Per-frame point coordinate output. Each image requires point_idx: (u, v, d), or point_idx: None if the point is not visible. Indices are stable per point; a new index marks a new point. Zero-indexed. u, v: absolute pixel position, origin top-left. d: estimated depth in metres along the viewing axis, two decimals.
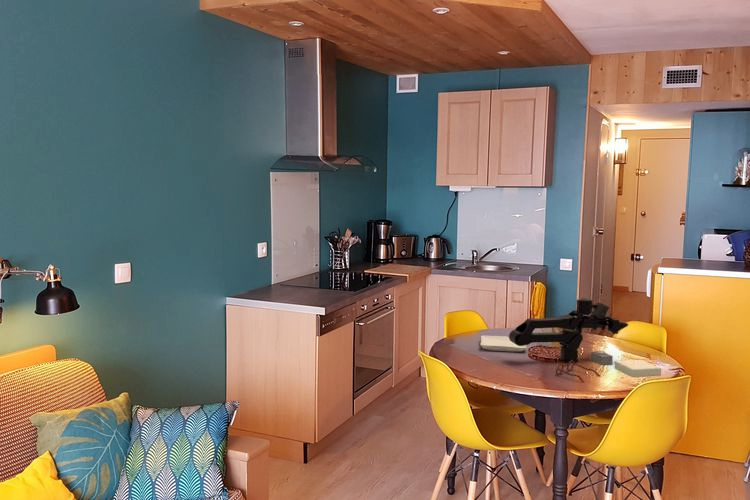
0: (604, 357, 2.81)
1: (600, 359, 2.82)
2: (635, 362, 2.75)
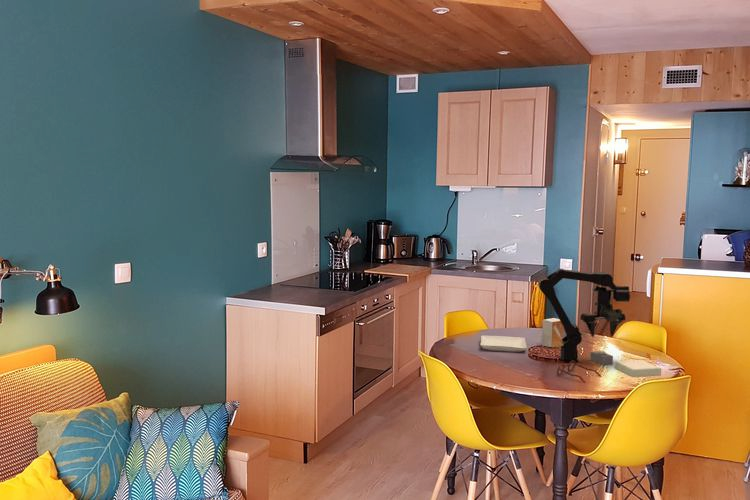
0: (605, 357, 2.81)
1: (601, 359, 2.82)
2: (635, 362, 2.75)
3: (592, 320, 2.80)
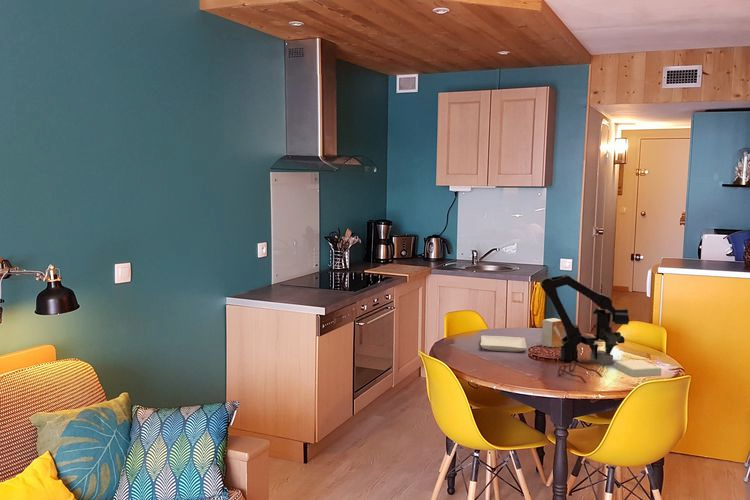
0: (605, 356, 2.81)
1: (601, 358, 2.82)
2: (635, 362, 2.75)
3: (591, 343, 2.81)
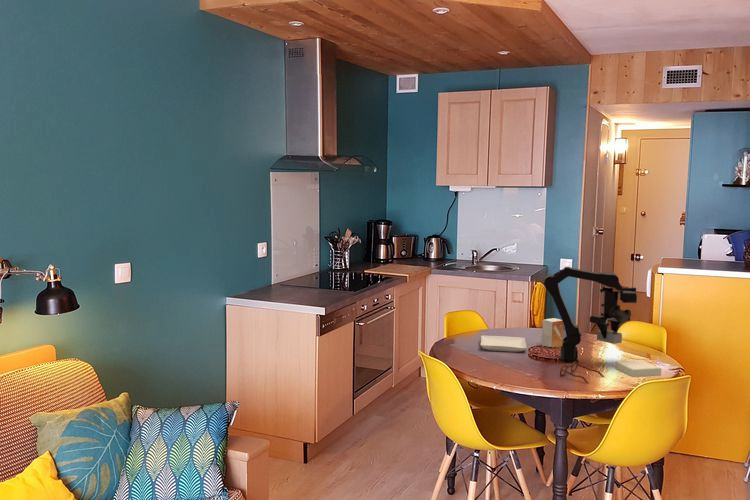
0: (616, 335, 2.78)
1: (612, 337, 2.78)
2: (635, 362, 2.75)
3: (603, 322, 2.76)
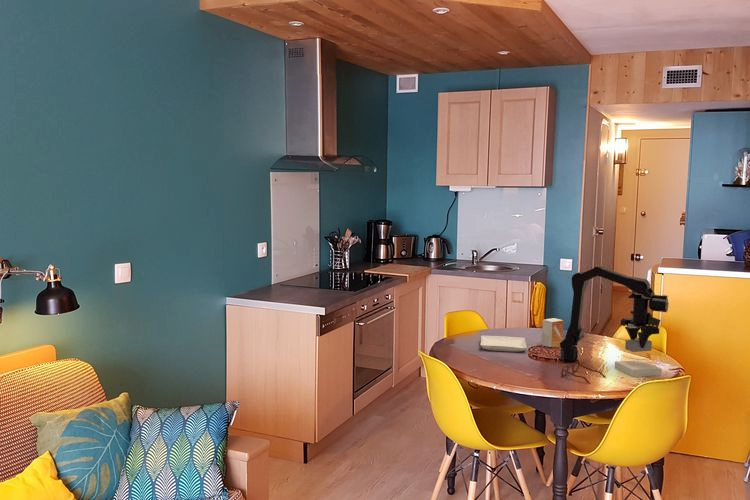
0: None
1: (649, 344, 2.70)
2: (635, 362, 2.75)
3: None
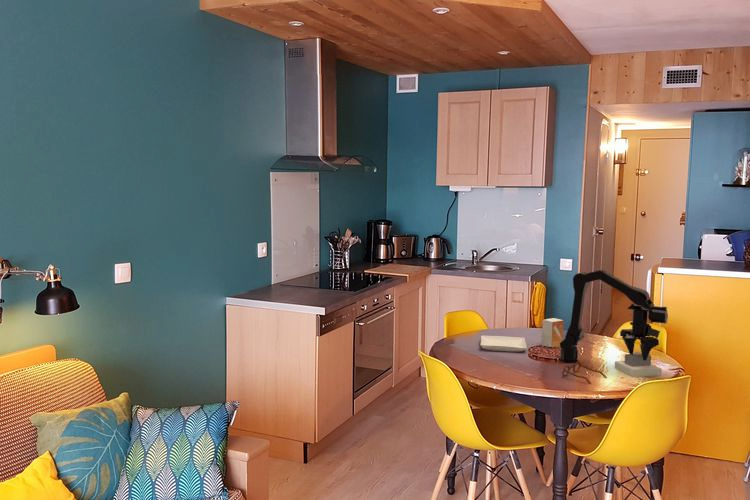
0: None
1: (649, 359, 2.70)
2: None
3: None
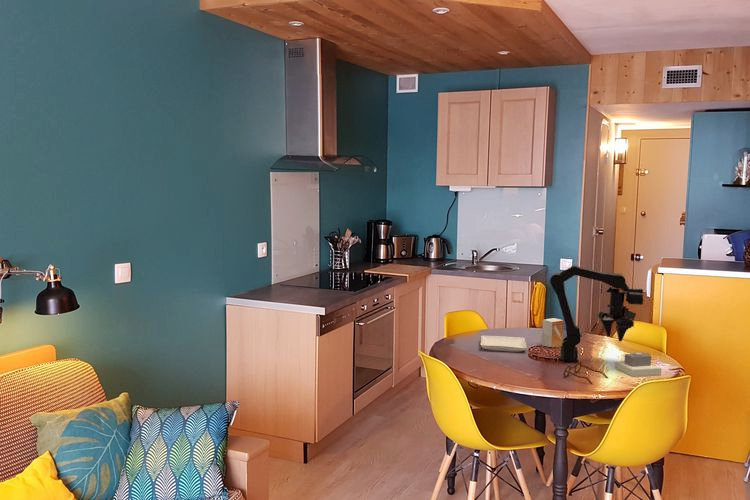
0: None
1: (649, 359, 2.70)
2: None
3: None
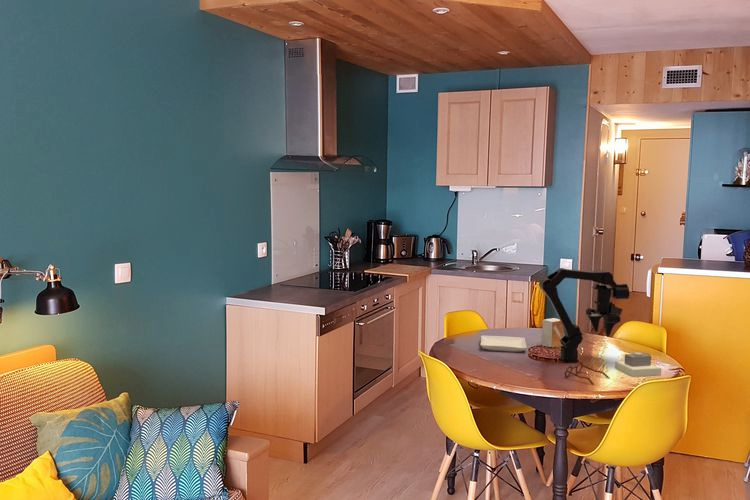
0: None
1: (649, 359, 2.70)
2: None
3: None
